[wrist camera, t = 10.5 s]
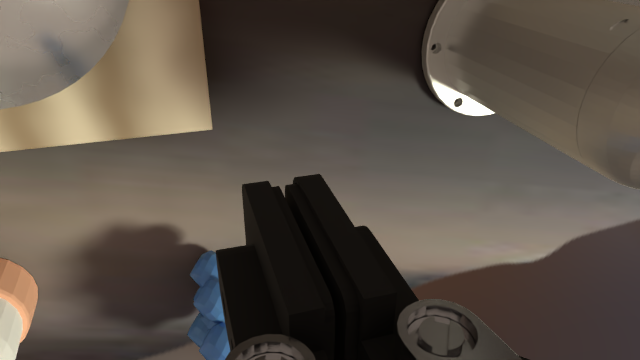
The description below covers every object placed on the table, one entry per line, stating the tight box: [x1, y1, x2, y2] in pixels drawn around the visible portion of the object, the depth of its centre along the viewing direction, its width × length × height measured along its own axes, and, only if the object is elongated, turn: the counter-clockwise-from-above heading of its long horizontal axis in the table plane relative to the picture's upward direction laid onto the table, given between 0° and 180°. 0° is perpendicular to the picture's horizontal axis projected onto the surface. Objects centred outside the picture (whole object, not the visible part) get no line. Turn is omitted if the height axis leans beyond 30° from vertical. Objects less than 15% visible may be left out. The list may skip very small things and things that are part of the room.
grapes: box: [187, 251, 230, 360], centre depth 39 cm, size 12×7×12 cm, turn 179°
